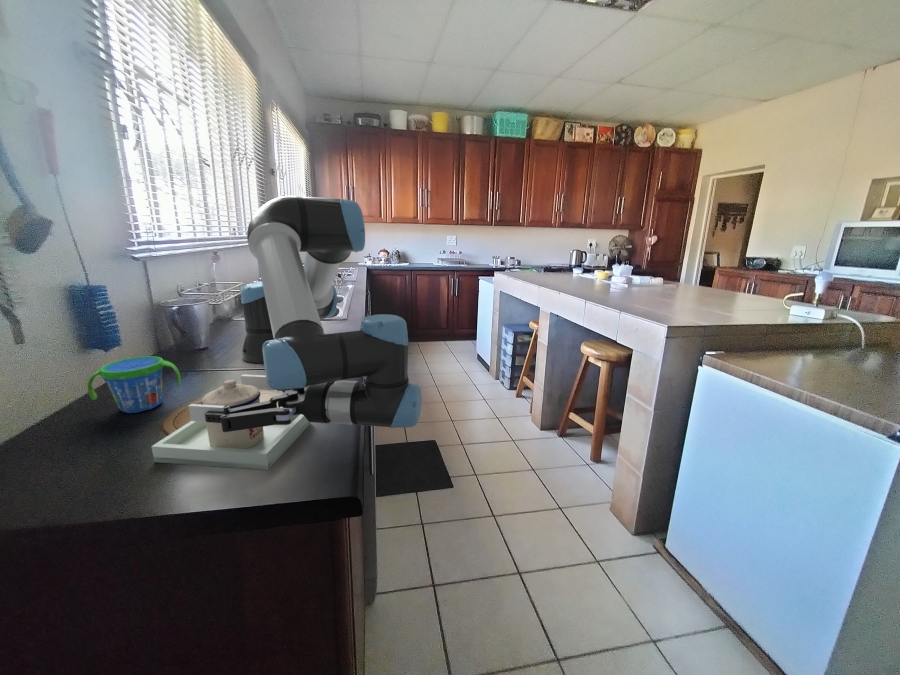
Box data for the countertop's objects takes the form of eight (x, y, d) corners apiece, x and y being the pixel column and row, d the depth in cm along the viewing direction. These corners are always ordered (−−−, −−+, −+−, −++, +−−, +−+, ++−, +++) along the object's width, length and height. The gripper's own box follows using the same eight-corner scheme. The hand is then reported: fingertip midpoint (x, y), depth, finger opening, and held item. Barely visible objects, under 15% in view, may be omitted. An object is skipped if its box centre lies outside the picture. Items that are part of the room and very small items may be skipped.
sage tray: (218, 418, 79) (216, 404, 78) (310, 423, 77) (309, 410, 77) (154, 462, 64) (151, 446, 63) (268, 469, 62) (266, 453, 61)
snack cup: (85, 423, 76) (73, 376, 73) (106, 402, 85) (96, 360, 82) (178, 411, 82) (170, 366, 79) (188, 392, 91) (181, 352, 88)
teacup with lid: (263, 448, 66) (255, 387, 63) (203, 458, 63) (192, 394, 60) (268, 418, 77) (261, 364, 74) (216, 425, 74) (208, 369, 71)
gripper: (302, 460, 55) (167, 451, 57) (356, 393, 79) (260, 387, 81) (298, 414, 54) (158, 406, 55) (355, 359, 78) (256, 354, 79)
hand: (219, 395), depth 68 cm, fingers open, 13 cm apart
